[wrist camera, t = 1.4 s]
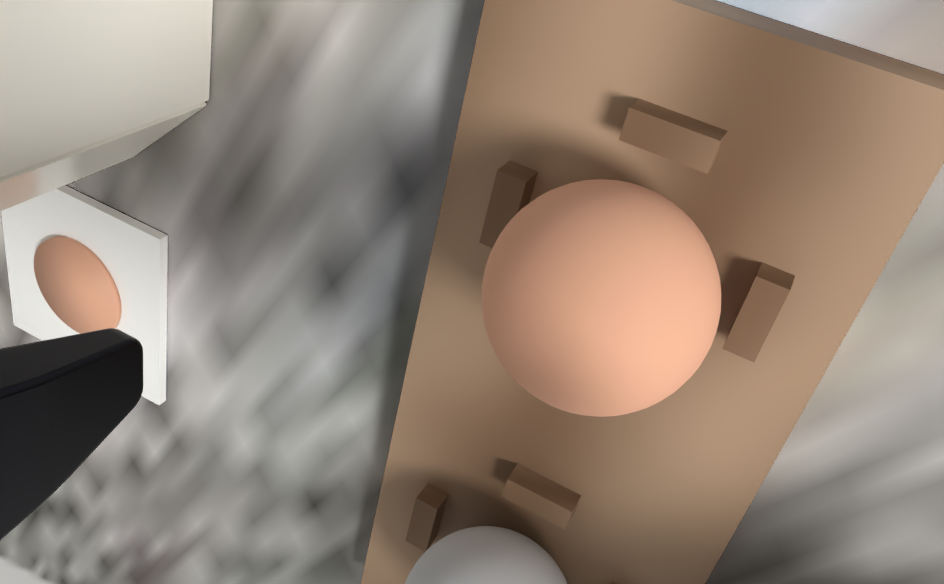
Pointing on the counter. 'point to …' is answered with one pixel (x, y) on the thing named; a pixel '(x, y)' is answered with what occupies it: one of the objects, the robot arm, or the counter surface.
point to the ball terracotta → (601, 297)
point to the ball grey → (486, 560)
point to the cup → (94, 84)
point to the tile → (88, 275)
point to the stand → (726, 231)
